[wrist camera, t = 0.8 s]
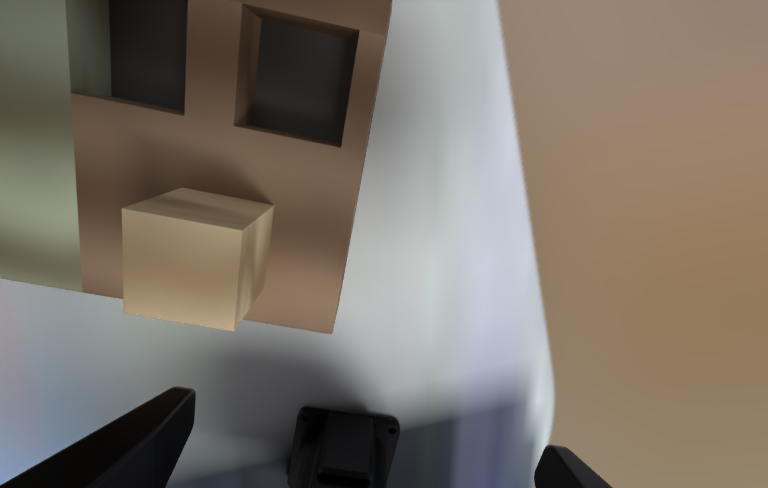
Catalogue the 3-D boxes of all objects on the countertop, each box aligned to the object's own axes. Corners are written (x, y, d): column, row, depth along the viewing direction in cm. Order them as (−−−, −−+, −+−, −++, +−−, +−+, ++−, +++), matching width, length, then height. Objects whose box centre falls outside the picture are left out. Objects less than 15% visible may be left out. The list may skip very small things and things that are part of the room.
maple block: (265, 286, 18) (234, 331, 14) (179, 271, 17) (123, 313, 14) (274, 205, 17) (242, 230, 13) (182, 187, 16) (121, 208, 12)
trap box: (338, 305, 21) (322, 373, 16) (9, 248, 20) (-136, 299, 15) (391, 13, 17) (396, -41, 11) (-31, -85, 16) (-267, -202, 10)
